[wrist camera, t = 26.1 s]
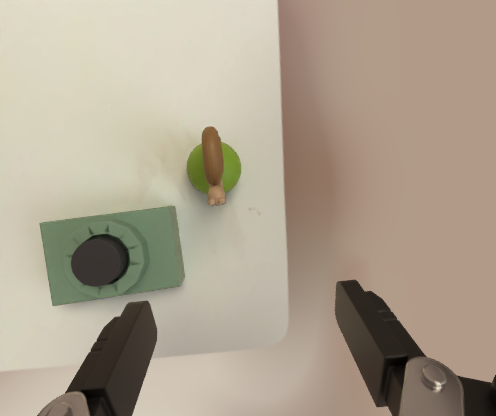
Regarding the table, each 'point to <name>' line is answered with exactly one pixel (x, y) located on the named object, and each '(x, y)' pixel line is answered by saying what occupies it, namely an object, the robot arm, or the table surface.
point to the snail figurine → (213, 167)
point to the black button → (99, 261)
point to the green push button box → (135, 242)
